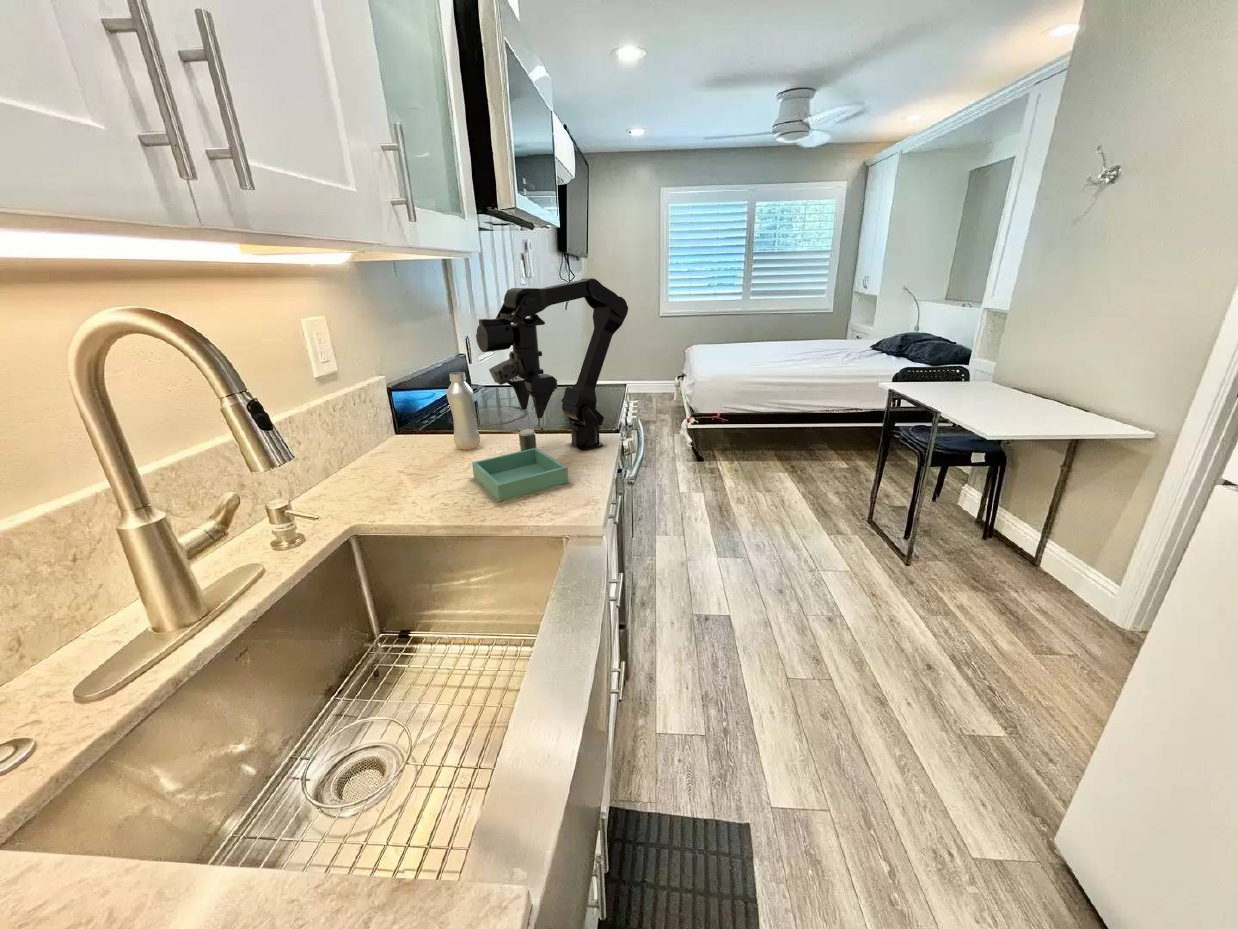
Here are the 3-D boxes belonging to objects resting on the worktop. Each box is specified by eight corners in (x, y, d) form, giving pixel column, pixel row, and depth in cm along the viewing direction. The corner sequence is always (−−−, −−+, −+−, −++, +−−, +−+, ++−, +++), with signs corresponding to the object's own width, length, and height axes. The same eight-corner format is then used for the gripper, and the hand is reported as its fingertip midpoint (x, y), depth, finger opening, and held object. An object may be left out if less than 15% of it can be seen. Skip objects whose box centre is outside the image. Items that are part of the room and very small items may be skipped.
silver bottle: (474, 452, 127) (463, 376, 119) (450, 451, 128) (438, 375, 121) (485, 444, 133) (475, 370, 125) (462, 443, 134) (451, 370, 127)
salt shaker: (533, 454, 125) (531, 427, 122) (540, 458, 122) (537, 431, 119) (518, 457, 123) (516, 430, 120) (525, 462, 120) (522, 435, 117)
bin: (537, 464, 118) (536, 447, 117) (568, 485, 106) (567, 467, 105) (474, 480, 110) (471, 462, 109) (500, 505, 98) (497, 485, 97)
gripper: (477, 345, 114) (485, 410, 120) (506, 356, 99) (514, 429, 105) (522, 341, 119) (528, 403, 125) (555, 350, 105) (561, 420, 111)
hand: (531, 413), depth 116 cm, fingers open, 9 cm apart
